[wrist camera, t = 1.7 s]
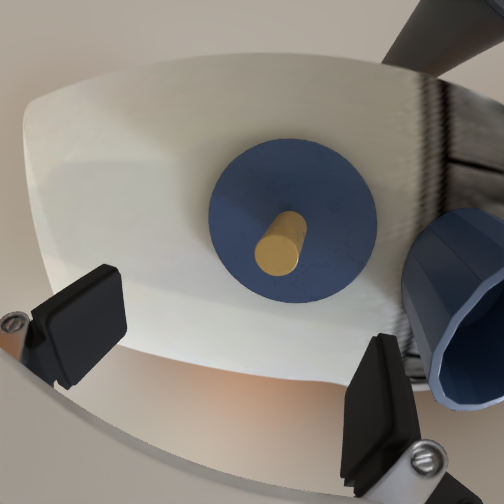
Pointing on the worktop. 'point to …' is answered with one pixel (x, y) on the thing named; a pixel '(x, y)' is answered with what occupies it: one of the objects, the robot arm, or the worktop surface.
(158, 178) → the worktop surface
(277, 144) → the lid
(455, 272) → the tin
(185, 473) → the robot arm
